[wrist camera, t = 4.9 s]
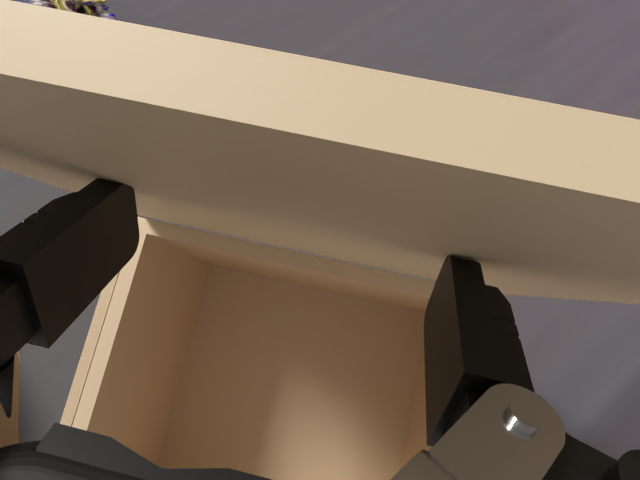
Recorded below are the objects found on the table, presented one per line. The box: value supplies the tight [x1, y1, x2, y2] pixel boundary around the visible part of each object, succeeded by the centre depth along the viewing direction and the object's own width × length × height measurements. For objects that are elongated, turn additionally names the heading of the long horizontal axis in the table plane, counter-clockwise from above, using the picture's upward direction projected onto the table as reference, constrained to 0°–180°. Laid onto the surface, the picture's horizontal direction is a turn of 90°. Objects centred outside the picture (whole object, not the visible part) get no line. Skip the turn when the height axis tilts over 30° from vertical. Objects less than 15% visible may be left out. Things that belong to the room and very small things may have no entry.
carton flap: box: [0, 0, 640, 304], centre depth 14 cm, size 20×19×1 cm
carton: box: [60, 217, 513, 480], centre depth 28 cm, size 21×21×14 cm
